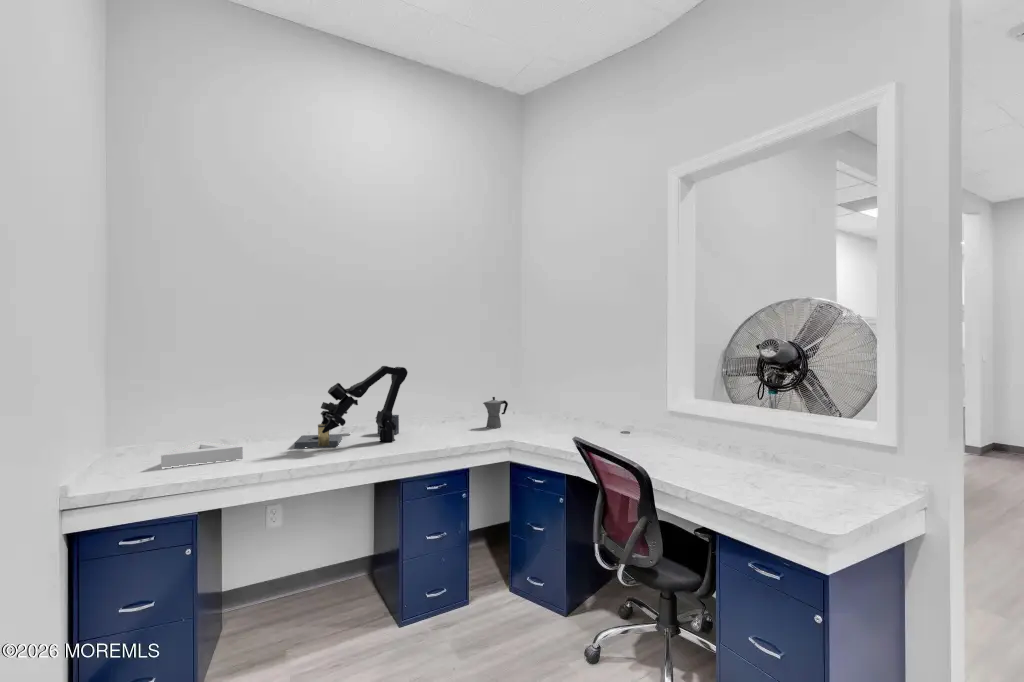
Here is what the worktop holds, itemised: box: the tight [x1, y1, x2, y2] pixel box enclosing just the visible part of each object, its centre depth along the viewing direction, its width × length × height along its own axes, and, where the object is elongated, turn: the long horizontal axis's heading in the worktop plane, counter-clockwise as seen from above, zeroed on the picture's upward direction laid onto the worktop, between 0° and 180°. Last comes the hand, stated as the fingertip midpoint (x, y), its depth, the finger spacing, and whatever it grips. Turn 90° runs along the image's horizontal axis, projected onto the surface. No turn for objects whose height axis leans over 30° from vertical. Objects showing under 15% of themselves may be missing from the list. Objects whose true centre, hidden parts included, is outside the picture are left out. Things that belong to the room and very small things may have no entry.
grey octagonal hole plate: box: [294, 433, 343, 449], centre depth 267 cm, size 20×18×3 cm
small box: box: [377, 414, 400, 436], centre depth 294 cm, size 11×6×10 cm, turn 84°
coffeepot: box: [482, 396, 509, 429], centre depth 315 cm, size 15×9×18 cm, turn 109°
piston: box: [317, 423, 330, 446], centre depth 252 cm, size 5×5×10 cm
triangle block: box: [160, 440, 244, 468], centre depth 233 cm, size 30×26×6 cm
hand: (320, 431), depth 251 cm, fingers closed on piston, 5 cm apart
